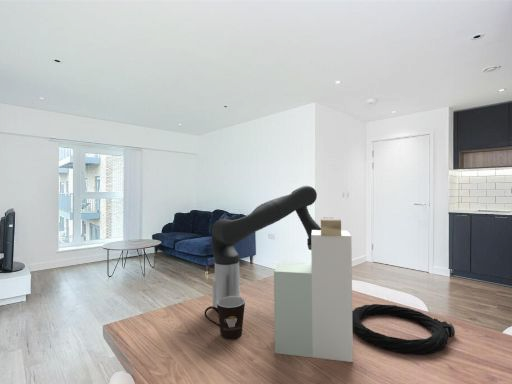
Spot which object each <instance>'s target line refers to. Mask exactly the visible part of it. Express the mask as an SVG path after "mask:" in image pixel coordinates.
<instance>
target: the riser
mask: <svg viewBox="0 0 512 384" xmlns="http://www.w3.org/2000/svg"><path fill="white" fill-rule="evenodd" d="M352 249H353V248H352V235H351V234H350V233H349V231H348V230H341V236H321V230H312V234H311V250H310V251H311V263H304V262H285V261H284V262H281V261H280V262H278V263H277V265H276V267H275V268H274V271H273V295H274V296H273V298H274V299H273V302H274V303H273V304H274V306H273V307H274V308H273V309H274V310H273V311H274V317H273V318H274V354H279V355H280V354H281V355H287V356H288V355H290V356H296V357H297V356H298V357H306V358H314V359H321V360H331V361H340V362H349V363H350V362H351V363H353V362H354V356H353V355H354V353H353V352H354V351H353V349H354V347H353V345H354V344H353V342H354V341H353V340H354V339H353V335H354V334H353V333H354V331H353V329H352V311H353V261H352V259H353V257H352V255H353V254H352Z"/></svg>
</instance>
